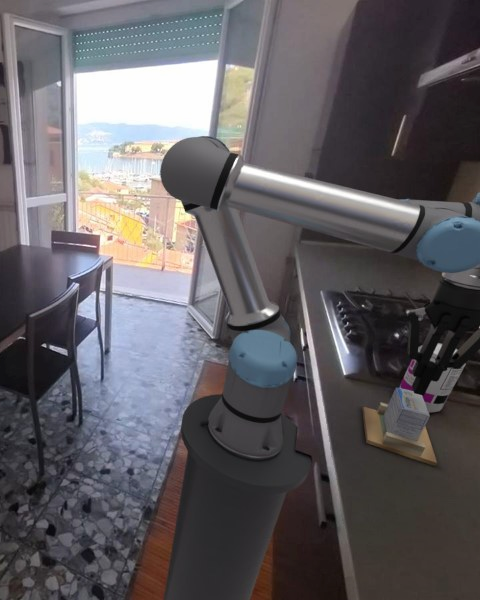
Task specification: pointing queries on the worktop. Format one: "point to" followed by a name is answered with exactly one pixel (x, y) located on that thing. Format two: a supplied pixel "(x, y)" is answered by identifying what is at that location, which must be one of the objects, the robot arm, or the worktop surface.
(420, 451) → the mount pad
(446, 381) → the supplement can
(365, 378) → the worktop surface
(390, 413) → the medicine box
